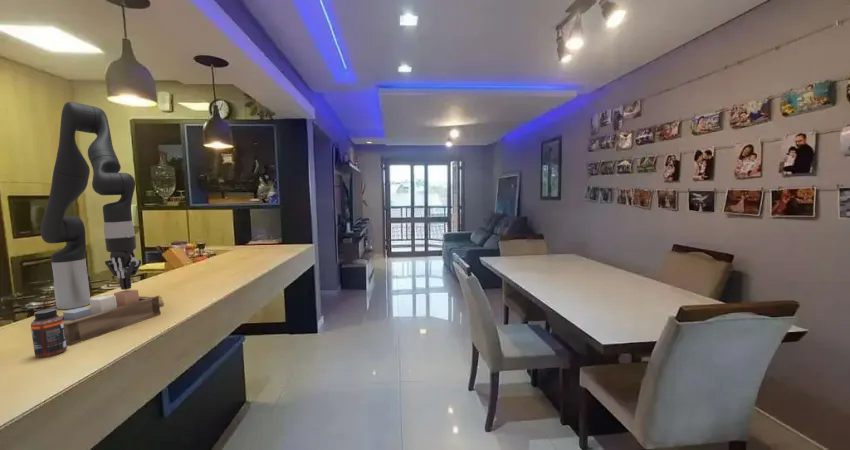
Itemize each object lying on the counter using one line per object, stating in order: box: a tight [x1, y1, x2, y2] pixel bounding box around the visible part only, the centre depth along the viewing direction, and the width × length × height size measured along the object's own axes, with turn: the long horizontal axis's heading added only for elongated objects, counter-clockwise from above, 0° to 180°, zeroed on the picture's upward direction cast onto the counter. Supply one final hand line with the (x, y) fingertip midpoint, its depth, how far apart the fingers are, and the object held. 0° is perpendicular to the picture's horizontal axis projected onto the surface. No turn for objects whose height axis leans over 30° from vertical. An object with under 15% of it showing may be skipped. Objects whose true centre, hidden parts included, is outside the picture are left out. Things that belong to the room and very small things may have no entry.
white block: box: [89, 295, 117, 315], centre depth 117 cm, size 4×4×5 cm
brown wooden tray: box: [60, 295, 161, 346], centre depth 118 cm, size 12×26×6 cm, turn 164°
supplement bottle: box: [30, 307, 68, 358], centre depth 98 cm, size 6×6×11 cm
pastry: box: [155, 295, 165, 308], centre depth 137 cm, size 9×7×4 cm
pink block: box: [113, 289, 140, 307], centre depth 124 cm, size 4×4×5 cm
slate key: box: [62, 307, 92, 321], centre depth 111 cm, size 4×4×5 cm
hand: (126, 289), depth 124 cm, fingers closed
